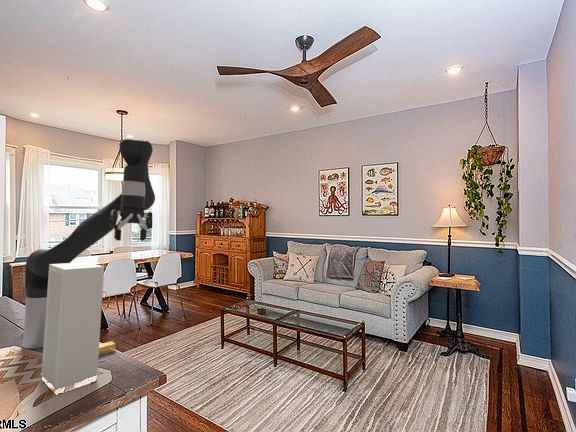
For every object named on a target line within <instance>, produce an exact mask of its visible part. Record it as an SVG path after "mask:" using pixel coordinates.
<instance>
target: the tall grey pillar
mask: <svg viewBox="0 0 576 432" xmlns="http://www.w3.org/2000/svg"><path fill="white" fill-rule="evenodd" d="M104 274H105V266H103V265H99V264H96V263H91V262H90V261H89V262H88V261H83V262H82V261H80V262H70V263H63V264H49V276H48V290H47V304H46V318H45V333H44V347H42V349H43V350H42V363H41V364H42V365H41V375H42V376H43V377H44V378H45V379H46V380H47V381H48V382H49V383H51V384H52V385H53V387H54V388H55V389H56V390H57V389H59V388H63V387H67V386H70V385H73V384H75V383H78V382H81V381H83V380H85V379H87V378H90V377H93V376H96V375H97V376H98V371H99V370H98V367H99V366H98V365H99V356H100V355H99V344H100V337H101V323H102V320H101V319H102V309H103V308H102V305H103V291H104V277H105V276H104ZM98 355H99V356H98Z"/></svg>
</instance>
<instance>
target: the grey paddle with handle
mask: <svg viewBox="0 0 576 432" xmlns="http://www.w3.org/2000/svg"><path fill="white" fill-rule="evenodd" d="M116 346H117V345H116V342H113V340H112V341H107V342H104V343H99V355H98V357H99V356H102V355H105V354H109V353H113V352H115V351H116ZM111 348H112V349H111ZM113 349H114V350H113ZM112 350H113V351H112Z"/></svg>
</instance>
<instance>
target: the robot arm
mask: <svg viewBox="0 0 576 432" xmlns="http://www.w3.org/2000/svg"><path fill="white" fill-rule="evenodd" d="M118 146H119V147H118V150H119V153H120V155H121V157H122V159H123V161H124V163H126V165H125V166H124V168H123V178H122V179H123V181H122V182H123V183H122V186H121V194H119V195H118V196H117V197H115V198H114V199H113V200H112V201H111V202H109V203H108V204H106V205H105V206H103V207H102V208H101V209H99V210H97V211H95V212H94V213H93V214H91V215H90V216H89V217H87V218H86V219H84V220H83V221H81V222H80V223H79V224H78V225H77V226H76V227H75V229H74V230H73V231H72V233H70V234H69V236H68V237H67V238H65V239H64V240H62V241H61V242H60V243H58V244H56V245H55V246H53V247H51V248H50V249H46V248H41V249H37V250H35V251H33V252H32V253H30V254H29V255H28V257H27V258H26V261H25V269H24V270H25V271H24V273H25V274H24V287H25V293H26V294H25V308H24V320H23V334H22V335H23V336H22V348H23V349H28V350H34V349H35V350H36V349H41V348H42V349H43V347H44V333H45V318H46V304H47V290H48V276H49V264H63V263H72V261H73V260H75V259H76V258H77V257H78V256H79V255H80V254H82V253H83V252H84V251H86V250H87V249H89V248H90V247H91V246H93V245H94V244H96V243H97V242H98V241H99V240H101V239H103V238H104V237H105V236H107V235H108V234H109V233H111V231H113V230H114V234H113V235H114V236H113V238H114V239H115V240H116V241H119V242H120V241H121V240H122V228H123V227H124V226H125V225H127V224H137V226H138V227H139V228H140V231H139V232H140V233H139V240H140V241H145V240H146V239H147V233H148V232H147V231H148V230H149V229H152V228H153V212H151V211H149V212H145V211H147V210H149V209H150V208H151V207H152V206H153V205H154V204H155V201H156V194H155V192H154V188H153V186H152V182H151V180H150V175H149V162H150V160H151V157H152V154H153V145H152V143H151V142H150V141H149V140H144V139H135V138H123V139H121V141H120V142H119V145H118ZM119 216H120V217H121V218H120V219H119ZM143 218H145V221H144V219H143ZM118 219H119V220H118Z"/></svg>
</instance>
